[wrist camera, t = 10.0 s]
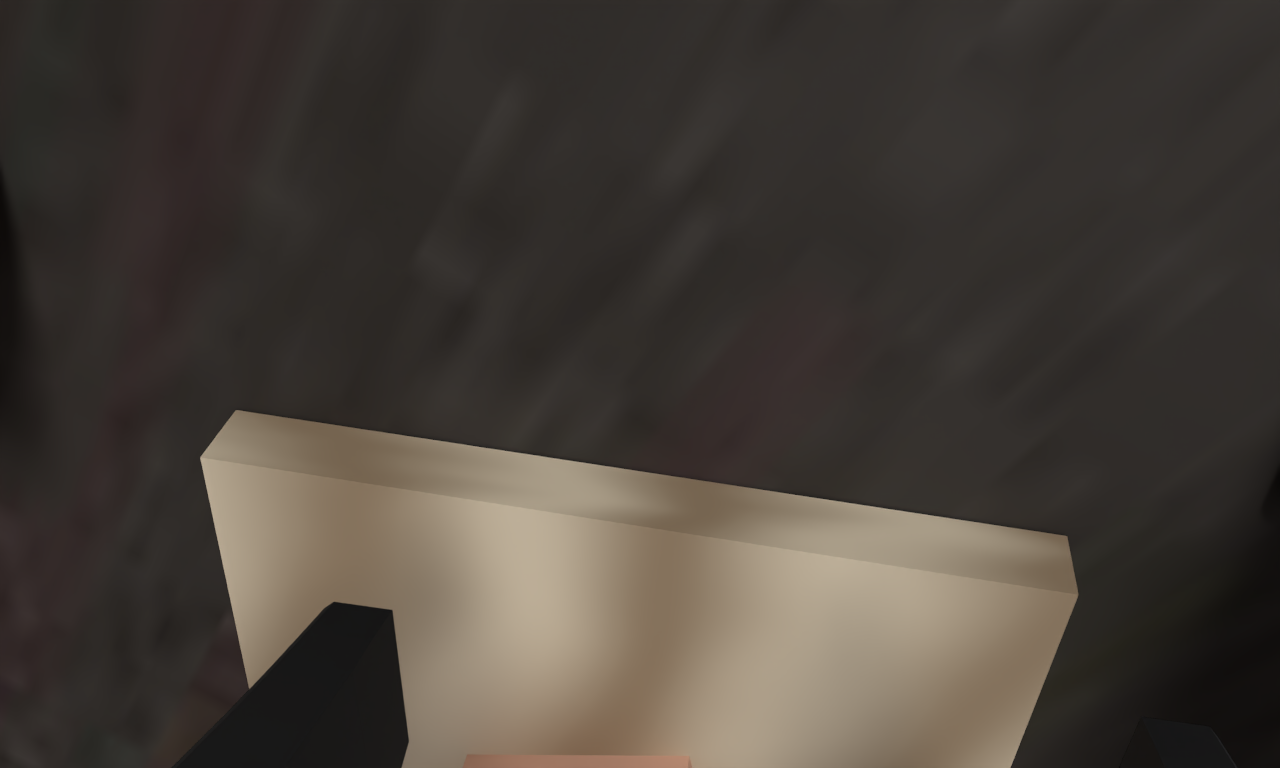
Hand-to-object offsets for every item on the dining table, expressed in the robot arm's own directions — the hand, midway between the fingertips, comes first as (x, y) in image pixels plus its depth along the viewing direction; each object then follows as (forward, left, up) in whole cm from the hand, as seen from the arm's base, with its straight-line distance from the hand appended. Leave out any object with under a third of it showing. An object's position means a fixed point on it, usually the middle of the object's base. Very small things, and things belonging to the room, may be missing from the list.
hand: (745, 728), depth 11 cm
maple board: (+2, +14, -9) cm, 17 cm away
